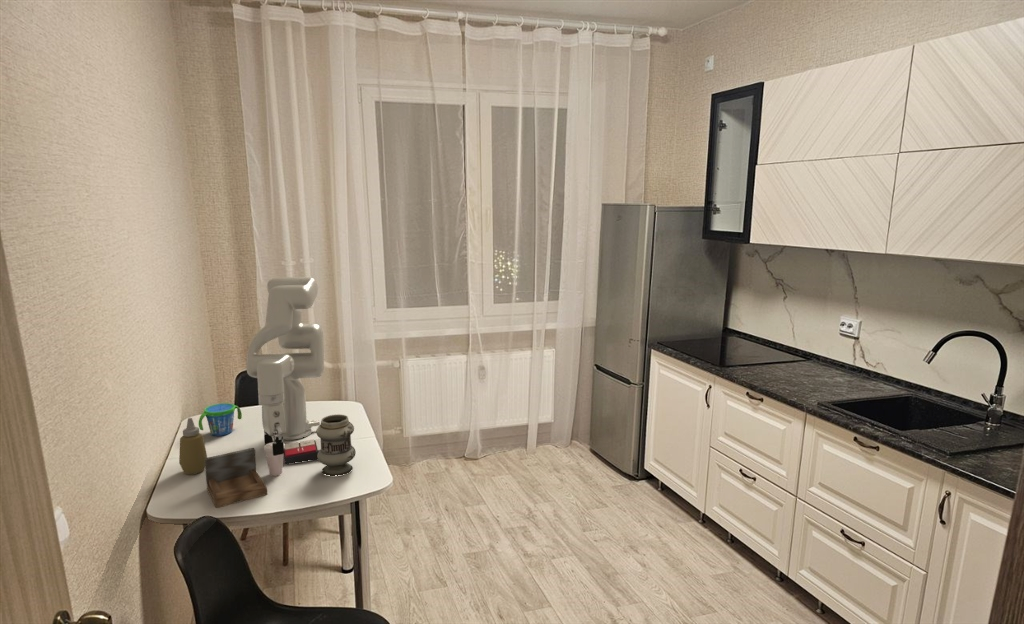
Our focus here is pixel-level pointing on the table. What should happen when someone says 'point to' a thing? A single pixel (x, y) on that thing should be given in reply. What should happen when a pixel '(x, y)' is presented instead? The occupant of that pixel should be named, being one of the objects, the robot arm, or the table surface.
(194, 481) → the table surface
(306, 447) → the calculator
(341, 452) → the apothecary jar
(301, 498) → the table surface
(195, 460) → the squeeze bottle
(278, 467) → the smoothie
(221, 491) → the display stand
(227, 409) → the snack cup
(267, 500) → the table surface
